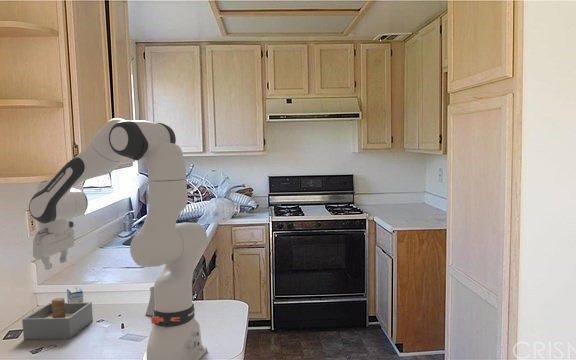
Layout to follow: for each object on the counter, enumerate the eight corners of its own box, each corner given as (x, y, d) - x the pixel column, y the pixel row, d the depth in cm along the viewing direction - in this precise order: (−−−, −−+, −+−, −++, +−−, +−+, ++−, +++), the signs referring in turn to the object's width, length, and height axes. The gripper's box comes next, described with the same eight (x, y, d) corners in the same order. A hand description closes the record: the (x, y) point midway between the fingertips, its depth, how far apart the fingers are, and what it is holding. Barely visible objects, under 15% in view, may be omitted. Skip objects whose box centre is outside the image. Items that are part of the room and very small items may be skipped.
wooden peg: (62, 329, 158) (60, 301, 158) (51, 329, 158) (49, 301, 158) (68, 325, 162) (66, 297, 162) (57, 325, 162) (55, 298, 162)
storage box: (70, 339, 152) (69, 318, 152) (23, 339, 153) (22, 319, 152) (92, 320, 168) (91, 302, 168) (50, 321, 169) (49, 303, 168)
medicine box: (67, 309, 181) (66, 288, 181) (79, 307, 184) (78, 286, 183) (72, 315, 175) (70, 293, 174) (84, 312, 178) (83, 290, 177)
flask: (167, 309, 177) (166, 284, 177) (160, 316, 170) (159, 290, 170) (149, 309, 178) (148, 284, 177) (142, 316, 171) (140, 290, 170)
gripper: (44, 231, 147) (48, 273, 148) (76, 221, 168) (79, 258, 169) (25, 232, 148) (29, 273, 149) (59, 221, 168) (62, 258, 169)
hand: (56, 265), depth 159 cm, fingers open, 8 cm apart
